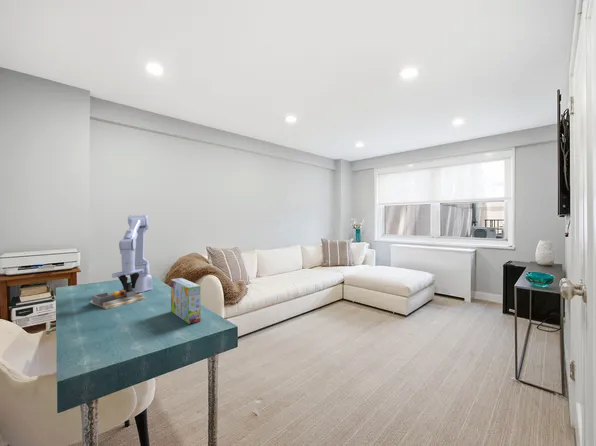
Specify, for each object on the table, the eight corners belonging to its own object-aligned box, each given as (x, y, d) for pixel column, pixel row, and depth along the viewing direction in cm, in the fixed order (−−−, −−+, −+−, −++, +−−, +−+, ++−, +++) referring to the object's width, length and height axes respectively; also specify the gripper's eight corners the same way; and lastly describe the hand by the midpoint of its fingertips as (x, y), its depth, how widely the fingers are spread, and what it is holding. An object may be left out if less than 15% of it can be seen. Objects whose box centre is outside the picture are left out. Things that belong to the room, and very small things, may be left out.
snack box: (202, 321, 116) (201, 285, 115) (188, 325, 112) (187, 287, 112) (182, 308, 132) (181, 276, 131) (170, 311, 128) (169, 279, 127)
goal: (107, 298, 145) (106, 292, 145) (114, 301, 140) (114, 295, 140) (92, 302, 140) (92, 295, 140) (100, 305, 135) (99, 298, 135)
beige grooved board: (128, 293, 157) (128, 288, 157) (145, 299, 147) (144, 293, 147) (90, 302, 142) (90, 296, 142) (106, 309, 132) (106, 303, 132)
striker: (125, 295, 150) (124, 279, 150) (135, 298, 144) (134, 282, 144) (117, 297, 147) (116, 281, 147) (126, 300, 141) (126, 284, 141)
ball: (120, 291, 148) (112, 290, 145) (123, 292, 146) (115, 291, 143) (117, 298, 147) (109, 297, 144) (120, 300, 145) (112, 299, 142)
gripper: (116, 265, 135) (117, 293, 135) (146, 261, 147) (147, 286, 147) (109, 264, 138) (110, 291, 139) (139, 260, 150) (140, 285, 151)
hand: (129, 289), depth 143 cm, fingers closed on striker, 3 cm apart
